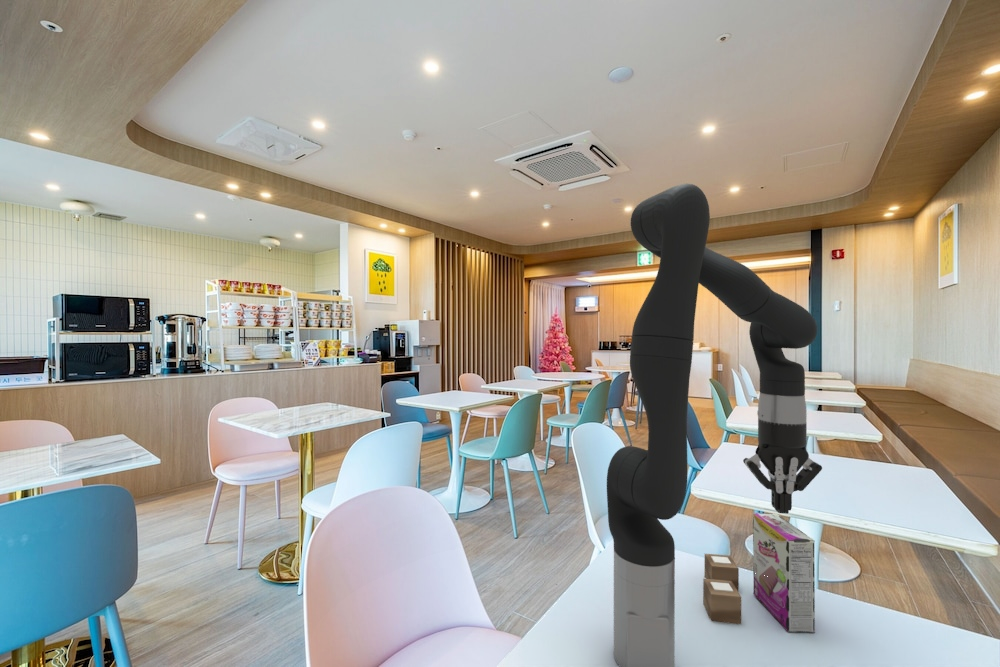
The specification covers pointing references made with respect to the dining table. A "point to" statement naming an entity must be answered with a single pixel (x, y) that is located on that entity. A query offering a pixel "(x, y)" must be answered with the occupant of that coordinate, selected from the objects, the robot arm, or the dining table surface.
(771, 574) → the candy bar box
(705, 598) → the marked block near
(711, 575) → the marked block far
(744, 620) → the dining table surface
